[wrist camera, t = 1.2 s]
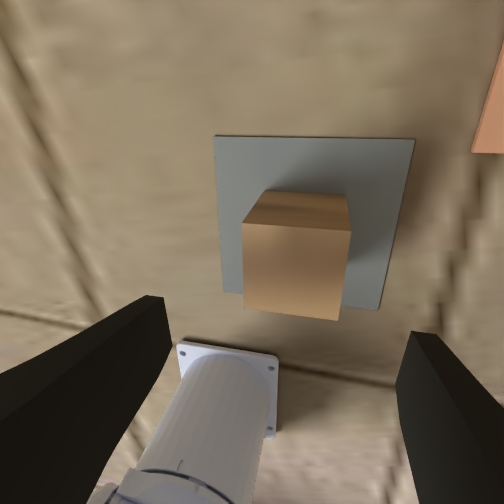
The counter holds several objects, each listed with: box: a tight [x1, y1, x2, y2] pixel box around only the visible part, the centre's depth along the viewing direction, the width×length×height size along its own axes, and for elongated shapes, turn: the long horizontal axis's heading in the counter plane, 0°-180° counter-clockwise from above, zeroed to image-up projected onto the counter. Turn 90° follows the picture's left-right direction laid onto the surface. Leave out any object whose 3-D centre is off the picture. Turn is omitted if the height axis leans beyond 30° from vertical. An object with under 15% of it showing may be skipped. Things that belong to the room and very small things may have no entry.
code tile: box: [213, 136, 415, 311], centre depth 18 cm, size 10×10×1 cm
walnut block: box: [242, 191, 351, 321], centre depth 15 cm, size 4×4×5 cm
